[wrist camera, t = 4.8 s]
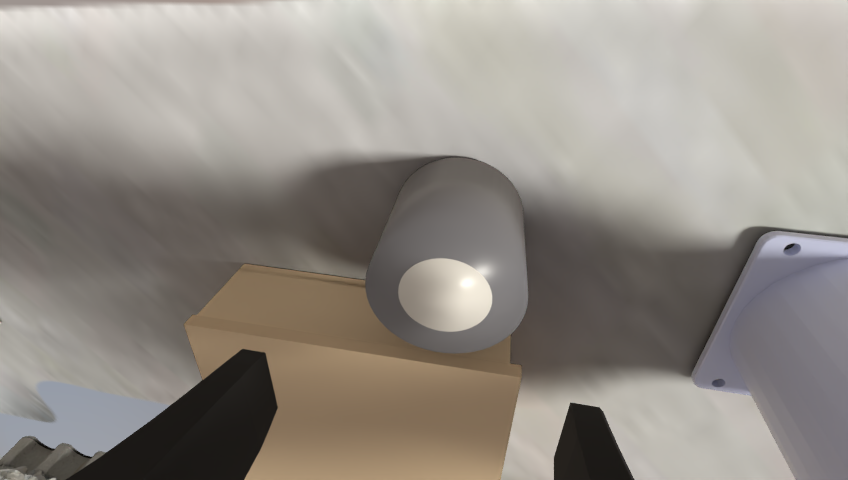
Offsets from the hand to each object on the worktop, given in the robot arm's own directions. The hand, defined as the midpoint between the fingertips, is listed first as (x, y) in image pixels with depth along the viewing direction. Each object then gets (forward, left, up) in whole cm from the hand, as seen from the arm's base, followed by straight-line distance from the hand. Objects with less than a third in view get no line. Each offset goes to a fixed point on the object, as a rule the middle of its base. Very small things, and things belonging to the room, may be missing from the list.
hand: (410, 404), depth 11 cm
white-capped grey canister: (0, 0, -9) cm, 9 cm away
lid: (+4, +11, -5) cm, 13 cm away
